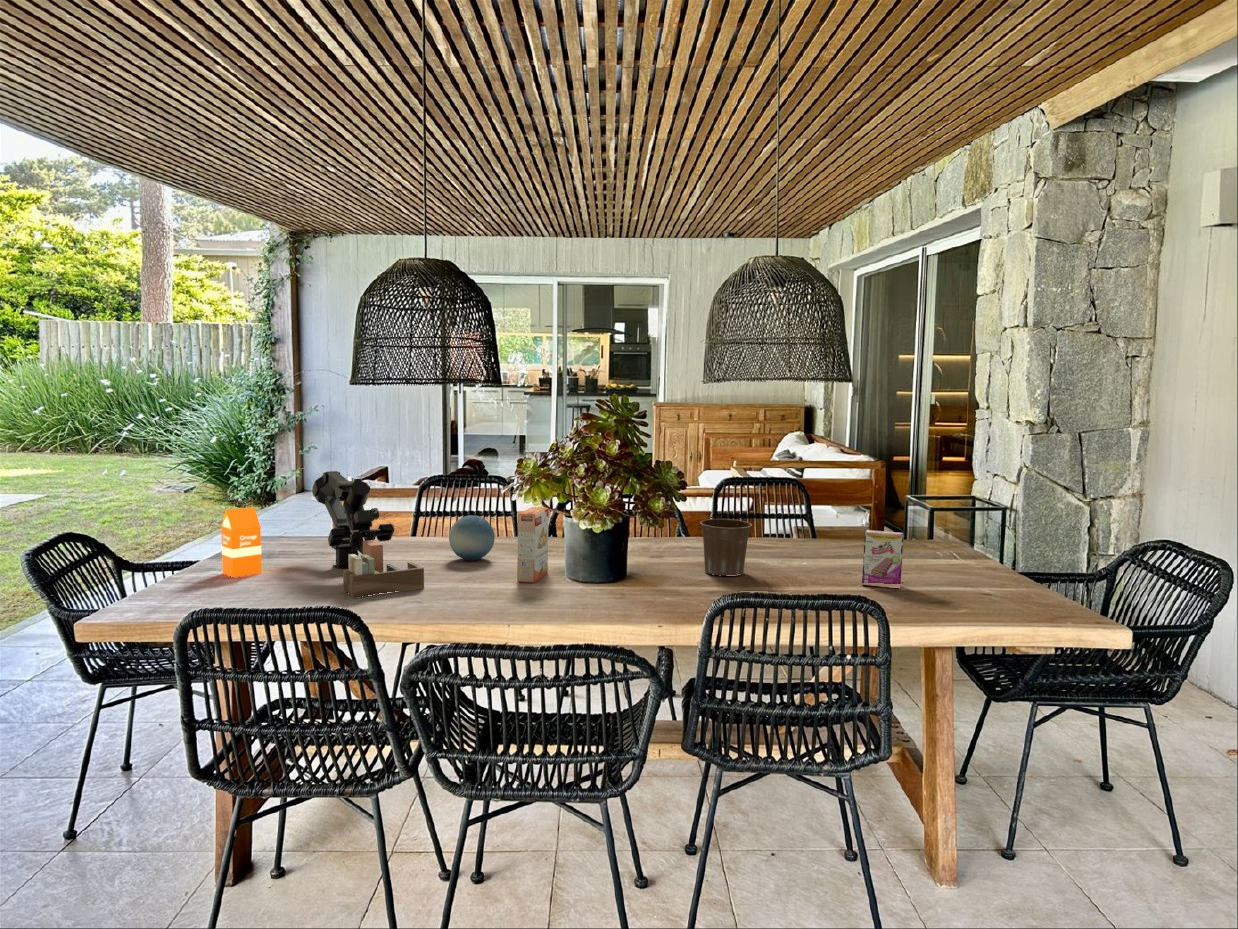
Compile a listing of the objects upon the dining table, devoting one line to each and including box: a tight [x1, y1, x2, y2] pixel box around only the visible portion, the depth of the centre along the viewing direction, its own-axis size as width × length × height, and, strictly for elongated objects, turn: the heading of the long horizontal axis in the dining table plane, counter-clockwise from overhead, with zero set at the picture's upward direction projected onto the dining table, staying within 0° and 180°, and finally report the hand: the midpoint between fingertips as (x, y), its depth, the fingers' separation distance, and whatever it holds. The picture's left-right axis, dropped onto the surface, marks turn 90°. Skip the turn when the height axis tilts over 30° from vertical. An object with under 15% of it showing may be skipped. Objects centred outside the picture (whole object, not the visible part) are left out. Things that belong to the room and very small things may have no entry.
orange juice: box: [220, 506, 263, 578], centre depth 249 cm, size 8×9×20 cm
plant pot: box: [699, 518, 753, 576], centre depth 258 cm, size 16×16×16 cm
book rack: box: [342, 554, 425, 599], centre depth 232 cm, size 10×20×10 cm, turn 125°
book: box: [362, 539, 384, 573], centre depth 239 cm, size 8×4×12 cm, turn 34°
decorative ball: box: [448, 514, 496, 561], centre depth 272 cm, size 15×15×15 cm
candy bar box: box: [861, 529, 905, 584], centre depth 244 cm, size 11×5×16 cm, turn 71°
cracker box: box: [516, 506, 550, 584], centre depth 248 cm, size 14×6×21 cm, turn 168°
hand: (368, 557), depth 243 cm, fingers closed, pressing on book
